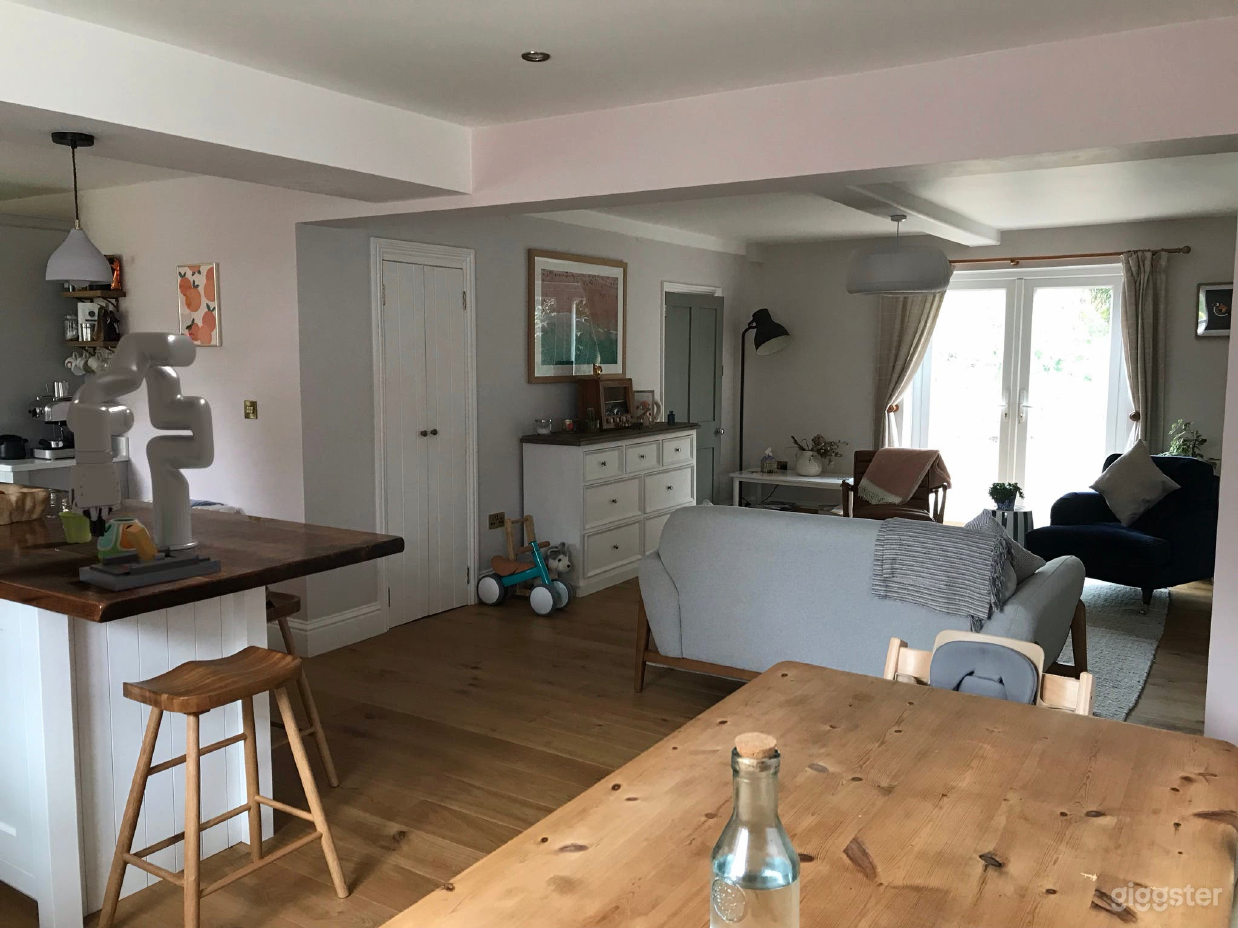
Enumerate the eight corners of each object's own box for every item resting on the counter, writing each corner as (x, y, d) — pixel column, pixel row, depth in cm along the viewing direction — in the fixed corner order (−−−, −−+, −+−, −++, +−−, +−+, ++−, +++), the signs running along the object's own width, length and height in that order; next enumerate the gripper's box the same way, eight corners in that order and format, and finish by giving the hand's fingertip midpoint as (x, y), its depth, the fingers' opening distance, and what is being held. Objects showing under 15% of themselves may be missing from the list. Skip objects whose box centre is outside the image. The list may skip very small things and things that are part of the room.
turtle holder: (130, 555, 266) (128, 512, 265) (161, 564, 254) (159, 519, 253) (82, 563, 257) (79, 518, 255) (112, 573, 245) (109, 525, 244)
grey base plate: (79, 580, 237) (78, 555, 236) (183, 562, 257) (182, 539, 257) (115, 591, 226) (114, 565, 225) (220, 571, 246) (219, 547, 246)
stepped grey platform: (94, 564, 240) (94, 557, 240) (166, 552, 254) (166, 546, 254) (134, 575, 228) (133, 568, 228) (207, 562, 242) (206, 555, 242)
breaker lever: (141, 561, 242) (124, 530, 238) (150, 555, 244) (133, 524, 240) (154, 564, 239) (136, 532, 235) (162, 558, 240) (145, 527, 236)
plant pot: (104, 540, 287) (102, 510, 286) (74, 545, 279) (73, 515, 278) (82, 537, 291) (81, 508, 290) (53, 543, 283) (51, 513, 282)
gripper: (118, 455, 237) (122, 530, 239) (52, 460, 225) (57, 539, 227) (133, 457, 232) (137, 533, 234) (67, 461, 221) (71, 542, 222)
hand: (98, 536), depth 230 cm, fingers closed
